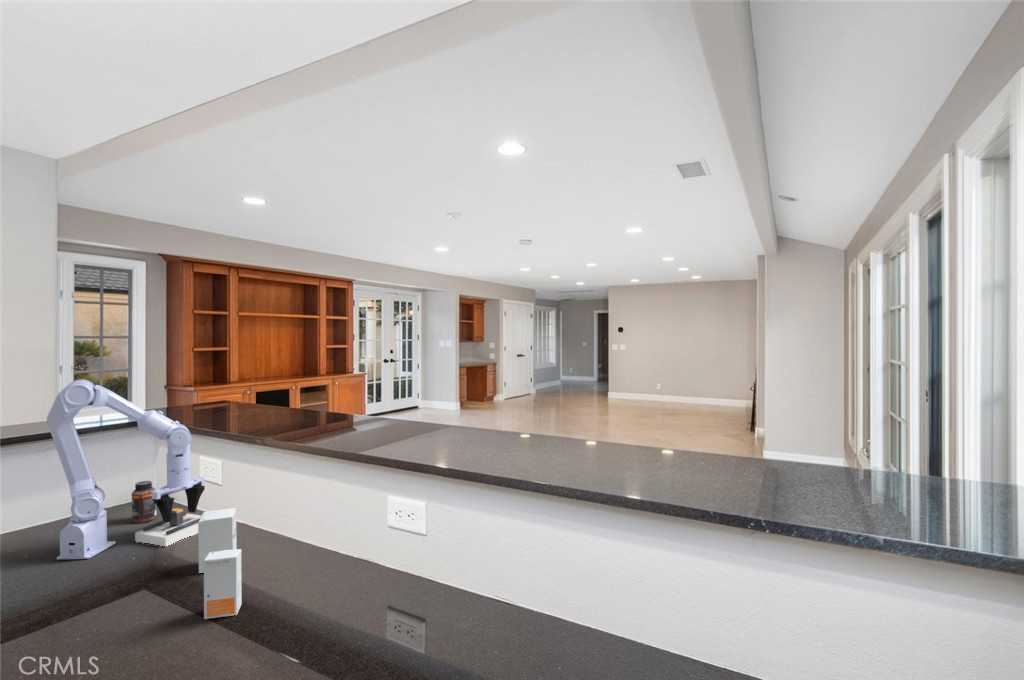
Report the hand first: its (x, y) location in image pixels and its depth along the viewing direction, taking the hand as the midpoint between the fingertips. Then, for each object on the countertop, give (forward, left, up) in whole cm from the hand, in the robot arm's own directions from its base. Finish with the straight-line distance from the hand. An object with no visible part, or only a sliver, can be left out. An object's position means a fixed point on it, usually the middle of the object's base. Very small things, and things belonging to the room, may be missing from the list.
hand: (180, 516), depth 144 cm
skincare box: (-42, -34, -5) cm, 54 cm away
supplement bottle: (+10, +16, -5) cm, 20 cm away
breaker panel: (-1, 0, -4) cm, 5 cm away
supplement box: (-21, -22, -5) cm, 30 cm away
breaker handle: (-1, 0, -2) cm, 2 cm away
